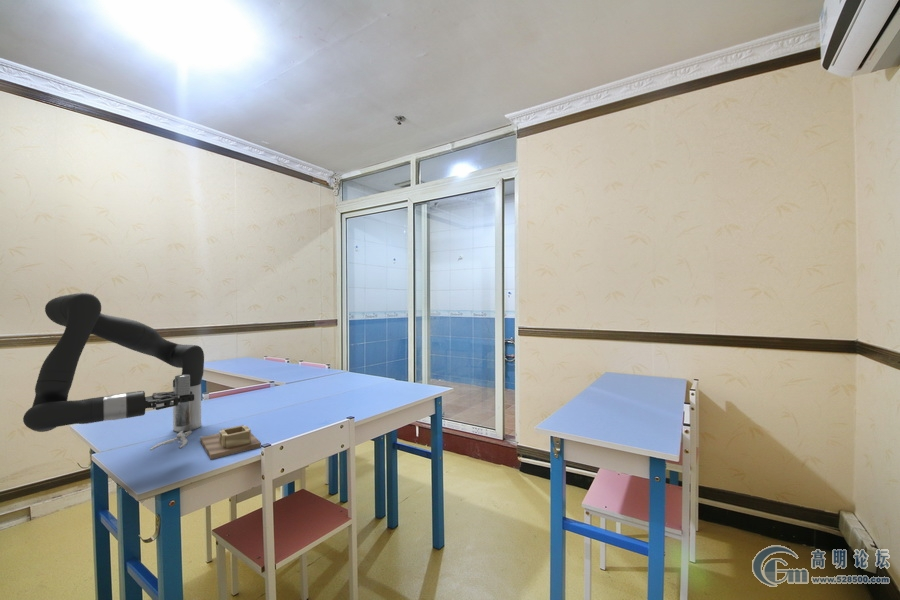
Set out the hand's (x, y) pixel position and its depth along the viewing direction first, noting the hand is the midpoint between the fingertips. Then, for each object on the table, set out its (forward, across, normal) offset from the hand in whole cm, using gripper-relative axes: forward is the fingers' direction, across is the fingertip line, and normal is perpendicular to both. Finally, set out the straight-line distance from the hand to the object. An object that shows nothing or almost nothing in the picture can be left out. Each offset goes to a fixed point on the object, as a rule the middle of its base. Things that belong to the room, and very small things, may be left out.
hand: (192, 395), depth 124 cm
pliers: (-3, +18, +20) cm, 27 cm away
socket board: (+11, +2, +20) cm, 23 cm away
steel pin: (-3, 0, +9) cm, 9 cm away
